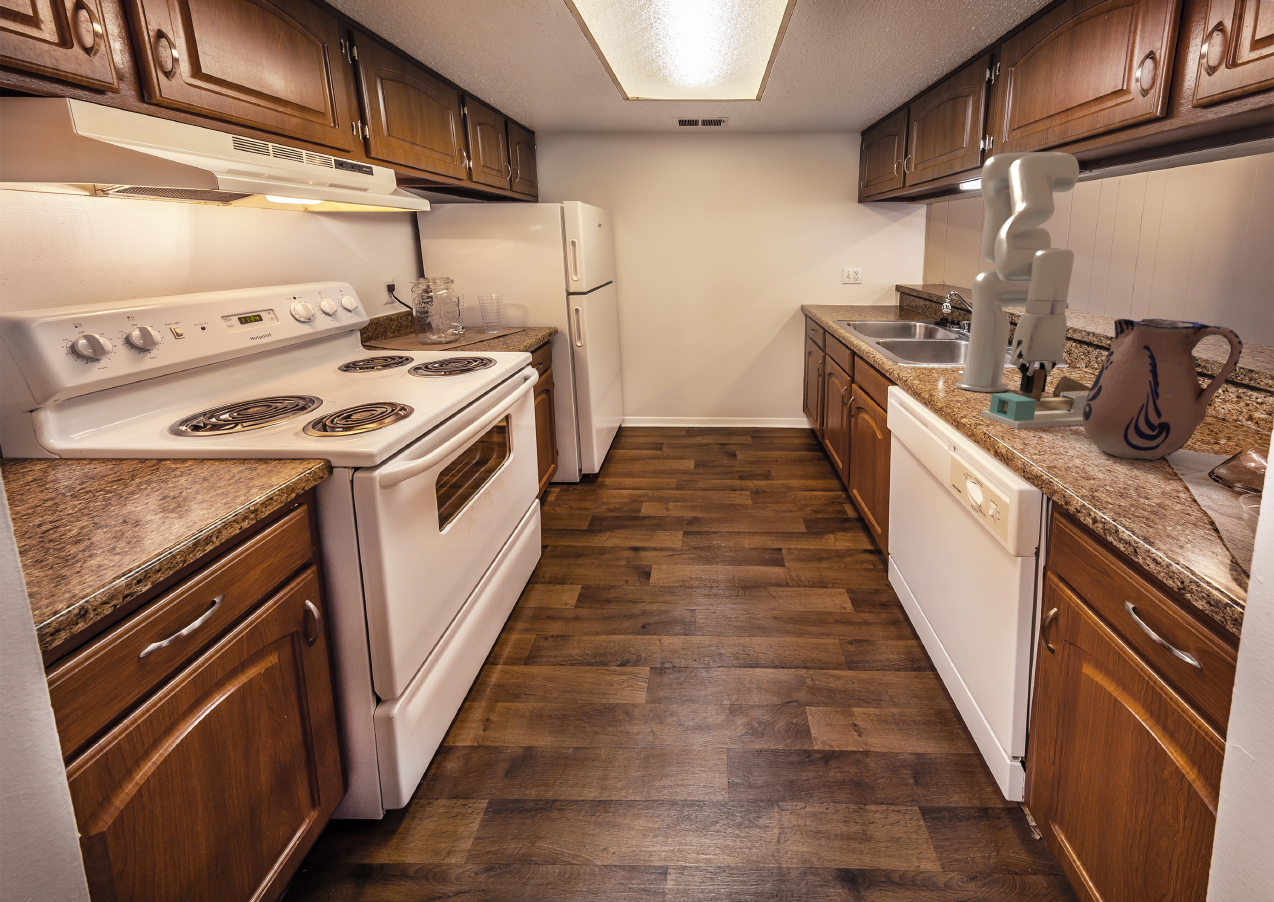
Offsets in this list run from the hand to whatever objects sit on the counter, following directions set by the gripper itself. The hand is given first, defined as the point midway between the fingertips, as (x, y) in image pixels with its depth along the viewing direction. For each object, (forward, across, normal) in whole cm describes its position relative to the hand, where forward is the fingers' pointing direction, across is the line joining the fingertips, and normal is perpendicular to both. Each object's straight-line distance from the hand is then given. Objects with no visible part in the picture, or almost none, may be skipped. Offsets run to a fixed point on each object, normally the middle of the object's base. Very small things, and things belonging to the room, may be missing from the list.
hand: (1031, 391), depth 155 cm
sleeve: (+5, -13, 0) cm, 14 cm away
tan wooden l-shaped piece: (+4, -3, 0) cm, 5 cm away
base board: (+7, -5, 0) cm, 8 cm away
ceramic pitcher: (+7, -2, +28) cm, 29 cm away
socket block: (+5, +4, 0) cm, 7 cm away
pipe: (+7, -29, -14) cm, 33 cm away
